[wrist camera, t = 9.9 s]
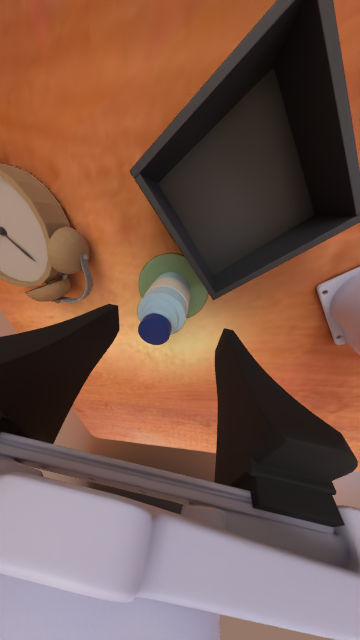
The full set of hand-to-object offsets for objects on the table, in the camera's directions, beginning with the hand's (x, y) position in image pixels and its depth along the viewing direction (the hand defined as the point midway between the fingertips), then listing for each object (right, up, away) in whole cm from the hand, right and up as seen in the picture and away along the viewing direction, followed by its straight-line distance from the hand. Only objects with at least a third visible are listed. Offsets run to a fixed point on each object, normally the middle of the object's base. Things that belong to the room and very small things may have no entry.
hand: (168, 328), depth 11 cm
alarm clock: (-15, +10, +9) cm, 20 cm away
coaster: (0, +4, +10) cm, 11 cm away
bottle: (0, +4, +9) cm, 10 cm away
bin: (+6, +12, +4) cm, 14 cm away
